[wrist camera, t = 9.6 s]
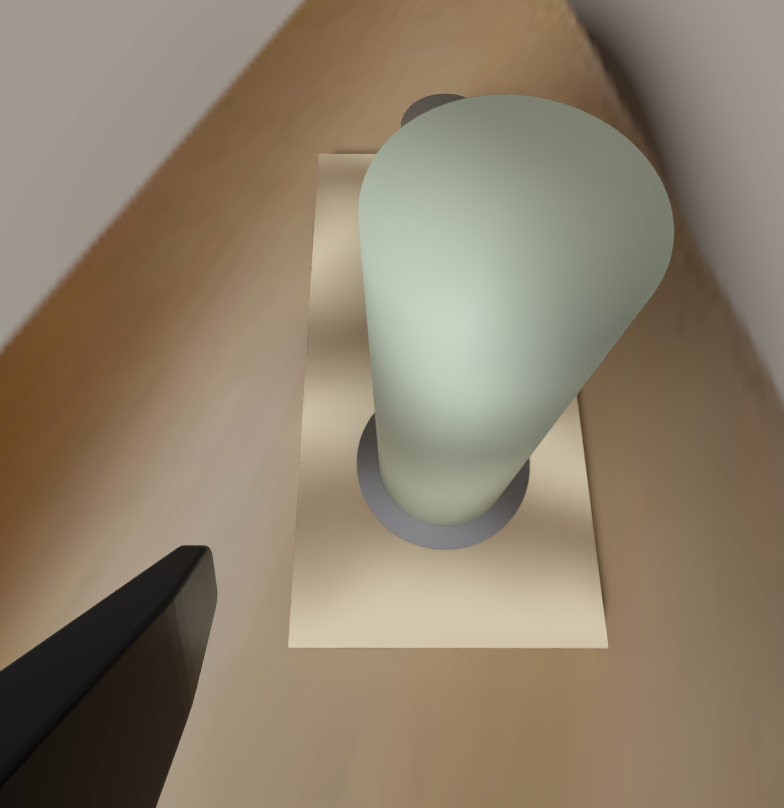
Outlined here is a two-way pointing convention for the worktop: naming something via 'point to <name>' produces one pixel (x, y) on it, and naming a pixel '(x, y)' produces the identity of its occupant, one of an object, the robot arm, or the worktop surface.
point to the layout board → (398, 533)
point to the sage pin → (497, 286)
